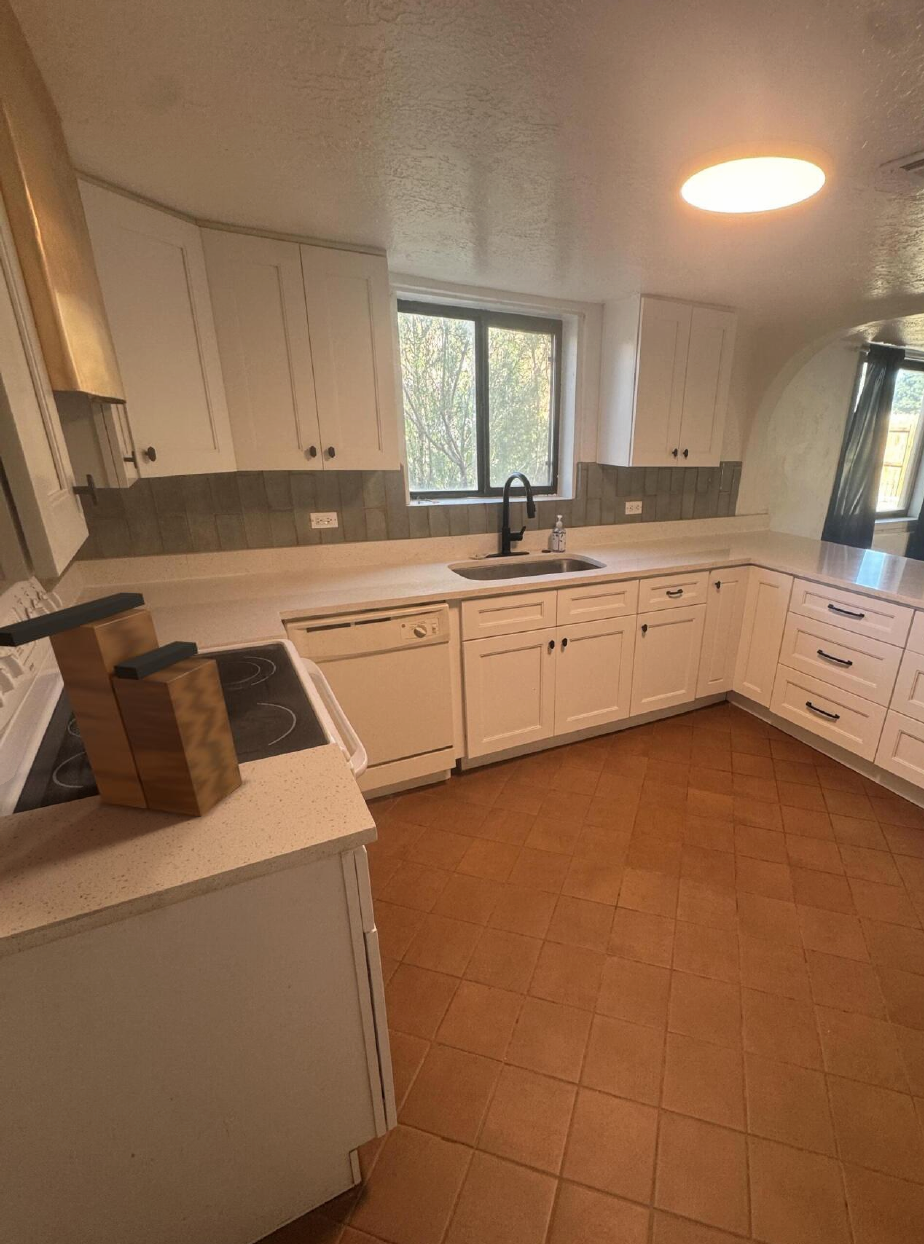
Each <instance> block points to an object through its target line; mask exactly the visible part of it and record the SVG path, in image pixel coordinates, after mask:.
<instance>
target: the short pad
mask: <svg viewBox="0 0 924 1244" xmlns="http://www.w3.org/2000/svg"><path fill="white" fill-rule="evenodd" d="M198 654H199V650H198V645H197V642H196V641H195V642H194V641H193V642H192V641H180V640H175V641H173V642H169V643H167V644H165V645H162V646H159V648H157V649H155V650H152V651H150V652H147V653H145V654H142V655H140V656H137V657H135V658H132V659H130V660H127V661H125V662H122V663H120V664H117V665H115V666H113V667H114V670H115V673H116V677H117V678H124V679H135V680H139V679H141V678H144V677H146V676H148V675H150V674H153V673H155V672H157V671H160V670H162V669H164V668H166V667H169V666H171V665H173V664H175V663H178V662H180V661H182V660H184V659H187V658H192V657H193V656H195V655H198Z"/></svg>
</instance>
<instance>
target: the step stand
mask: <svg viewBox="0 0 924 1244" xmlns="http://www.w3.org/2000/svg"><path fill="white" fill-rule="evenodd" d="M48 639H49V642H50V646H51V648H52V651H53V654H54V657H55V660H56V664H57V667H58V669H59V672H60V676H61V679H62V682H63V685H64V689H65V691H66V694H67V697H68V699H69V703H70V707H71V709H72V713H73V716H74V719H75V721H76V725H77V728H78V732H79V734H80V737H81V740H82V743H83V746H84V749H85V752H86V756H87V758H88V759H87V760H88V761H89V765H90V768H91V771H92V774H93V777H94V780H95V783H96V786H97V790H98V793H99V795H100V798H101V802H102V803H104V804H111V805H118V806H124V807H125V806H126V807H133V808H139V809H149V810H154V811H159V812H161V811H162V812H168V813H175V814H182V815H190V816H196V817H202V816H203V815H205V814H206V813H207V812H208V811H209V810H211V809H212V808H214V807H215V806H216V805H217V804H218V803H220V802H221V801H222V800H223V799H225V798H226V797H228V795H230V794H231V793H232V792H233V791H235V790H236V789H237V788H238V787H240V786H241V785H242V784H243V779H242V775H241V769H240V765H239V760H238V756H237V753H236V752H237V751H236V748H235V742H234V738H233V734H232V730H231V725H230V720H229V715H228V710H227V706H226V701H225V698H224V692H223V688H222V685H221V680H220V674H219V669H218V666H217V665H218V664H217V661H216V659H212V658H199V657H189V658H187V659H184V660H182V661H180V662H178V663H175V664H173V665H171V666H169V667H166V668H164V669H162V670H160V671H157V672H155V673H153V674H150V675H148V676H146V677H144V678H141V679H139V680H135V679H124V678H117V677H116V673H115V670H114V667H113V666H115V665H117V664H120V663H122V662H125V661H127V660H130V659H132V658H135V657H137V656H140V655H142V654H145V653H147V652H150V651H152V650H155V649H157V648H160V644H159V640H158V636H157V633H156V629H155V625H154V621H153V617H152V614H151V610H150V609H146V608H145V609H144V608H133V609H130V610H127V611H124V612H121V613H118V614H115V615H112V616H109V617H106V618H102V619H99V620H96V621H93V622H90V623H87V624H84V625H81V626H78V627H75V628H72V629H69V630H66V631H63V632H60V633H57V634H54V635H51V636H48Z"/></svg>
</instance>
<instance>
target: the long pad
mask: <svg viewBox="0 0 924 1244" xmlns="http://www.w3.org/2000/svg"><path fill="white" fill-rule="evenodd" d="M144 605H146V602H145V599H144V594H143V593H142V592H117V593H115V594H111V595H108V596H105V597H101V598H97V599H94V600H91V601H90V600H89V601H87V602H83V603H80V604H77V605H72V606H70V607H67V608H63V609H60V610H56V611H52V612H50V613H46V614H42V615H39V616H35V617H32V618H29V619H25V620H22V621H18V622H14V623H11V624H8V625H4V626H1V627H0V647H6V648H17V647H20V646H23V645H26V644H29V643H32V642H36V641H38V640H41V639H44V638H47V637H48V638H49V636H51V635H54V634H57V633H60V632H63V631H66V630H69V629H72V628H75V627H78V626H81V625H84V624H87V623H90V622H93V621H96V620H99V619H102V618H106V617H109V616H112V615H115V614H118V613H121V612H124V611H127V610H130V609H137V608H139V607H142V606H144Z"/></svg>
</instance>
